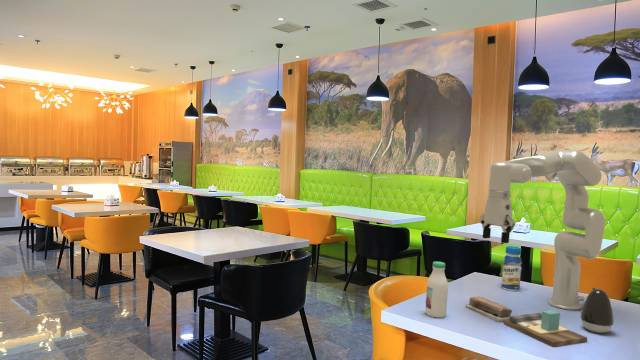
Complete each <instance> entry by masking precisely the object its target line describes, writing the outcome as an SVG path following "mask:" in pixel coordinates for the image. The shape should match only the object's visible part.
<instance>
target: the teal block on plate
mask: <svg viewBox="0 0 640 360" xmlns="http://www.w3.org/2000/svg"><path fill="white" fill-rule="evenodd" d="M541 313H542V319H541V325H536V326H528V327H526V328H527V329H529V330H532V331H534V332H536V333H538V334H548V333H556V332H563V331H568V330H569V329H567V328H566V327H563V326H561V325H560V317H561V313H560V312H558V311H556V310H553V309H550V310H542V311H541Z"/></svg>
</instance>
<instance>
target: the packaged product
mask: <svg viewBox="0 0 640 360" xmlns="http://www.w3.org/2000/svg"><path fill="white" fill-rule="evenodd" d="M465 308H466V309H468V310H471V311H473V312H475V313H476V314H479V315H481V316H483V317H485V318H488V319H489V320H493V321H495V322H497V323H504V320H509V318H510V316H513V315H512V311H513V310H512V309H511V308H508V307H506V306H504V305H502V304H500V303H497V302H494V301H492V300H490V299H488V298H485V297H483V296H474V297H473V296H472V297H469V302H468V304H465Z"/></svg>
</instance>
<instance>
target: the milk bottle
mask: <svg viewBox="0 0 640 360" xmlns="http://www.w3.org/2000/svg"><path fill="white" fill-rule="evenodd" d="M445 270H446V262H442V261H433V262H432V272H431V274H430V276H429V278H428V279H427V285H426V296H425V308H424V309H425V310H424V312H425V314H426V315H427V316H429V317H432V318H438V319H439V318H440V319H441V318H442V319H443V318H445V317H446V316H447V307H448V294H449V293H448V291H449V283H448V280H447V277H446V274H445Z"/></svg>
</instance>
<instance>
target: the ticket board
mask: <svg viewBox="0 0 640 360" xmlns="http://www.w3.org/2000/svg"><path fill="white" fill-rule="evenodd" d="M541 319H542V312H534V313H527V314H517V315H512V316H510V318H509V320H504V322H503V325H505V326H507V327H509V328H511V329H513V330H516V331H518V332H520V333H523V334H524V335H526V336H528V337H531V338H533V339H535V340H536V341H539V342H541V343H544V344H546V345H547V346H550V347H552V348H554V347H555V348H557V347H561V346H567V345H577V344H581V343H587V342H588V337H587V336H585V335H583V334H580V333H577V332H574V331H573V330H570V329H568V331H563V332H556V333H548V334H538V333H536V332H534V331H532V330H529V329H527V328H526V327H528V326H536V325H541Z"/></svg>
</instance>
